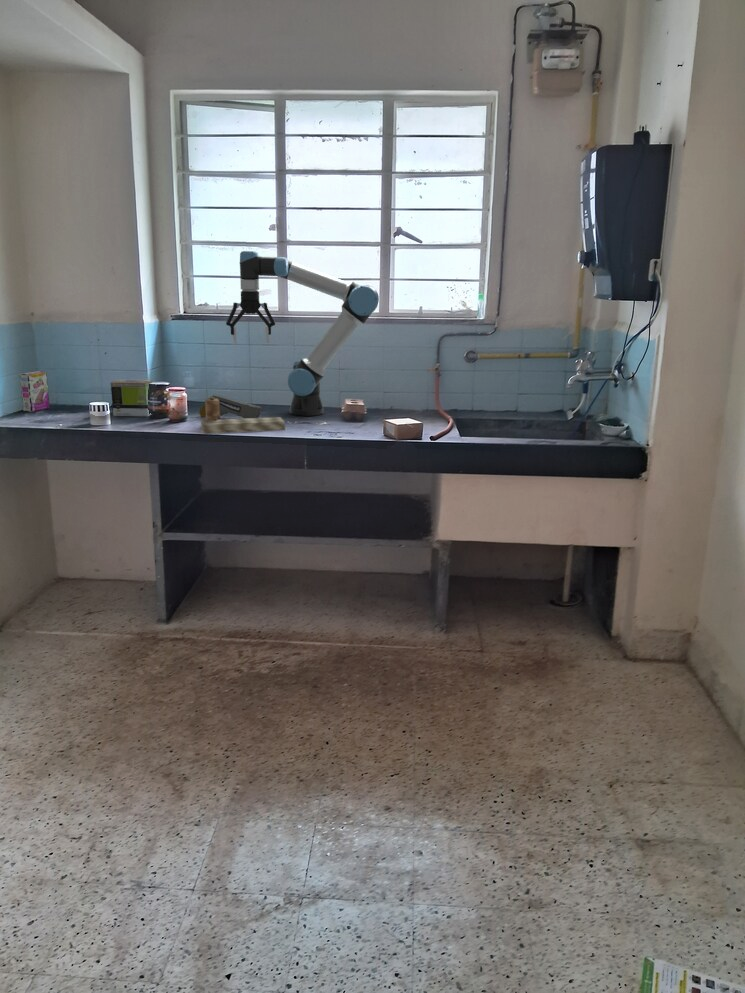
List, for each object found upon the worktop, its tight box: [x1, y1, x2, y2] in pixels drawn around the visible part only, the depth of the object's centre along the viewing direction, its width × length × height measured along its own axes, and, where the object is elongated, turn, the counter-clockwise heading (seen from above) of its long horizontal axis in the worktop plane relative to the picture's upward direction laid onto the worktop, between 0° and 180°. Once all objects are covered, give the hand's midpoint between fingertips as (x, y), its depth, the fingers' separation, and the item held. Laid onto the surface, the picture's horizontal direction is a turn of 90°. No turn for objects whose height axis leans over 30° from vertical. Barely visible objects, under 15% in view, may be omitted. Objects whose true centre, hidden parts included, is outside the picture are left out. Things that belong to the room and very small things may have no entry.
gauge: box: [204, 396, 221, 421], centre depth 291 cm, size 5×12×12 cm, turn 18°
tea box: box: [110, 379, 153, 418], centre depth 314 cm, size 15×10×15 cm
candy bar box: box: [19, 370, 50, 413], centre depth 318 cm, size 11×5×16 cm, turn 162°
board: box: [200, 416, 286, 435], centre depth 292 cm, size 32×9×4 cm, turn 108°
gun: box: [198, 394, 263, 419], centre depth 312 cm, size 3×25×15 cm, turn 81°
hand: (251, 342), depth 307 cm, fingers open, 13 cm apart
